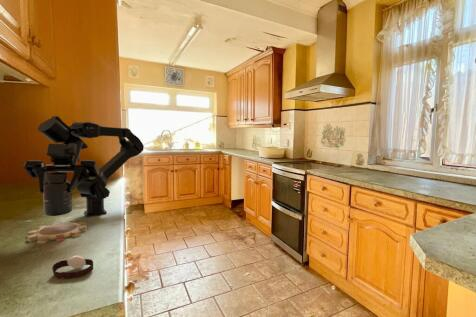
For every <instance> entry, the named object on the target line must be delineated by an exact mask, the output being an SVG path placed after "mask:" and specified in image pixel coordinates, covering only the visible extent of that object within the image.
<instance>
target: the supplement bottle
mask: <svg viewBox="0 0 476 317" xmlns="http://www.w3.org/2000/svg"><path fill="white" fill-rule="evenodd" d="M67 173H68V172H58V171H54V172H49V173H48V174H47V181H48V182H47V183H45V184H44V185H43V193H42V198H43V201H42V202H43V213H44V215H45V216H46V217H57V216H63V215H67V214H69V213H71V212H72V211H73V191H72V192H69V191H68V189H69V185H70V183H71V181H68V174H67Z"/></svg>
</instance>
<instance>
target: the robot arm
mask: <svg viewBox="0 0 476 317" xmlns="http://www.w3.org/2000/svg"><path fill="white" fill-rule="evenodd" d="M37 132H39V133H40V134H42V135H43V136H44V137H46V138H47V139H49V140H50V141H51V142H53V143H48V144H47V149H46V156H48V157H49V158H50V160H49V161H50V162H51V163H53V164H46V163H44V161H43V159H41V160H40V159H38V160H26V161H25V162H24V164H23V167H22V168H23V169H24V170H25V172H26V173H27V174H28V175H29V177H30V178H33V179H38V183H39V184H38V185H39V192H40V194H43V185H44V184H45V183H47V182H48V181H47V174H48V173H53V172H66V173H73V175H72V178H71V181H70V185H69V189H68V191H69V192H72V193H73V191H75V189H76V191H77V192H78V193H79V195H80V197H81V198H85V201H86V203H85V204H86V209H85V210H84V214H85V216H86V217H92V216H98V215H99V216H100V215H105V214H107V211H106V209H105V199H107V198H109V196H110V194H111V192H110V190H109V189H108V188H107V185H108V184H107V183H108V180H109V179H110V178H111V177H112V176H113V175H114V174H115V173H116V172H118V170H119V169H121V167H123V165H124V164H126V162H128V160H130V159H131V158H134V157H137V156H138V155H140V154H141V153H143V152H144V146H145V145H144V144H143V142H142V141H141V139H140V138H139V137H138V136H137V135H136V134H135V133H133V132H132V131H131V129H130V128H127V127H113V126H112V127H111V126H103V125H100V124H99V123H95V122H92V121H74V122H72V124H71V125H68V124H66V123H65V122H64V121H63V120H62V118H60V116H58V115H53V116H51V118H48V119H47V120H44V121H43V122H41V123H39V125H38V127H37ZM99 137H115V138H116V137H117V138H118V143H119V145H120V148H119V151H118V152H117V153H115V155H114V156H113V157H111V158H110V159H109V160H108V161H107V162H106V163H105V164H104V165H103V166H101V167H100V168H99V166H98V162H97V161H95V160H93V159H92V160H91V159H90V160H89V159H87V160H86V159H85V160H84V159H83V160H80V159H81V158H80V155H81V151H82V150H85V149H88V148H89V147H88V144H86V141H84V140H83V139H94V138H99ZM78 162H80V164H78Z"/></svg>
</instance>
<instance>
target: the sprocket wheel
mask: <svg viewBox="0 0 476 317" xmlns="http://www.w3.org/2000/svg"><path fill="white" fill-rule="evenodd" d="M36 228H37V229H35V230H33V229H32V230H29V231H28V232H27V236H26V237H27V238H26V240H27V242H29V243H31V242H35V241H36V242H37V244H46V243H48V242H49V241H56V243H58V242H64V241H65V240H66V238H70V237H71V238H72V237H73V238H77V237H79V236H81V235H82V234H81V233H82V232H87V231H88V225H87V223H86V222H84V221H80V222H77V220H69V221H68V222H61V221H56V222H53V224H50V225H40V226H38V227H36Z"/></svg>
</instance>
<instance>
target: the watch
mask: <svg viewBox="0 0 476 317" xmlns="http://www.w3.org/2000/svg"><path fill="white" fill-rule="evenodd" d="M85 266H88V267H86V268H84V269H82V268H83V267H85ZM64 267H70V268H72V269H77V270H76V271H68V272H67V271H66V272H65V271H62V272H59V271H58V270H59V269H61V268H64ZM78 269H82V270H78ZM51 270H52V273H53V277H55V278H56V277H57V278H56V279H61V278H64V279H63V280H67V279H69V280H70V279H75V278H76V279H77V278H82V277H85V276H87V275H89V274H90V273H92V271H94V261H93V260H92V259H90V258H85V257H83V256H82V255H76V254H75V255H74V256H71V257H70V258H69V259H63V260H60V261H57V262H56V263H54V264H52V268H51Z"/></svg>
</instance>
